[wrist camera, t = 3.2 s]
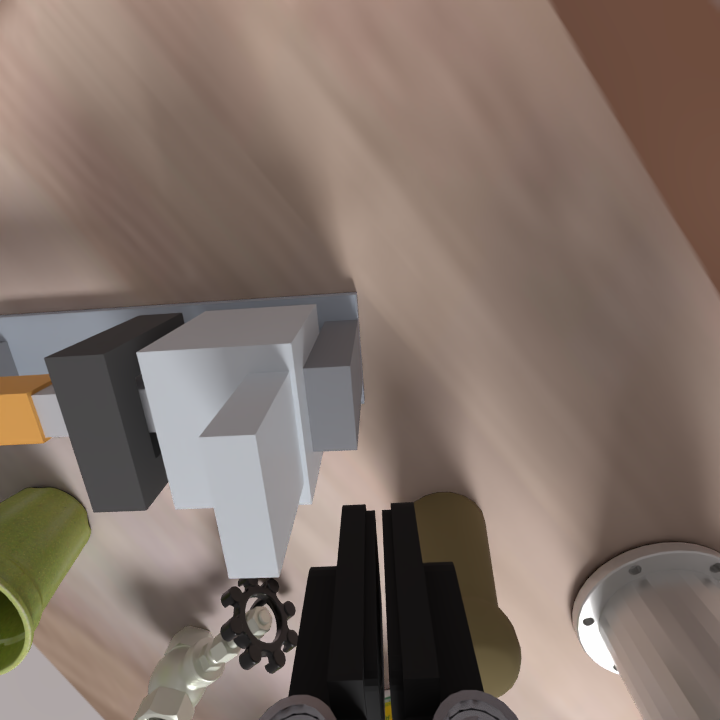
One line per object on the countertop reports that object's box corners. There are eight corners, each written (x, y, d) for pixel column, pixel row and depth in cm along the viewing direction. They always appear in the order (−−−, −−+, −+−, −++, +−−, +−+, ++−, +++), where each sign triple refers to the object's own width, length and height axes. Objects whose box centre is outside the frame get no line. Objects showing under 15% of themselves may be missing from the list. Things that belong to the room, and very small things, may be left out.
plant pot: (25, 440, 31) (-104, 524, 22) (138, 516, 32) (58, 620, 24) (-32, 520, 33) (-167, 623, 25) (77, 587, 35) (-16, 703, 27)
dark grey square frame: (182, 312, 24) (103, 354, 17) (206, 431, 26) (146, 510, 19) (139, 315, 24) (43, 357, 17) (167, 433, 26) (93, 512, 19)
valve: (210, 673, 38) (306, 603, 35) (177, 766, 31) (290, 689, 28) (149, 631, 36) (243, 553, 33) (102, 718, 30) (213, 632, 27)
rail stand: (356, 291, 26) (347, 331, 18) (364, 398, 29) (359, 478, 20) (-21, 316, 28) (-198, 364, 19) (15, 416, 30) (-129, 498, 21)
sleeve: (316, 304, 23) (256, 397, 12) (329, 425, 25) (289, 604, 14) (205, 311, 23) (40, 408, 12) (228, 430, 26) (108, 608, 14)
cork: (395, 498, 31) (404, 644, 21) (480, 486, 30) (535, 630, 20) (408, 564, 33) (423, 728, 22) (489, 554, 32) (542, 718, 22)
